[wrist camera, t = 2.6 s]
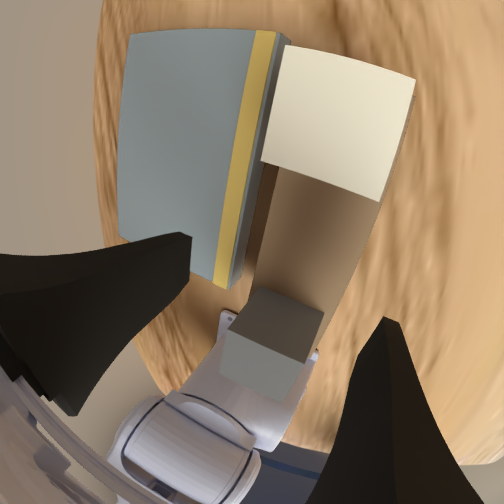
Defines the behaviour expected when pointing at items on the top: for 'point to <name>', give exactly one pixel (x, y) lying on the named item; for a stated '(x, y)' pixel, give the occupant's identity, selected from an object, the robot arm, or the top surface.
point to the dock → (196, 139)
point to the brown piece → (315, 239)
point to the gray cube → (269, 343)
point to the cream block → (337, 119)
